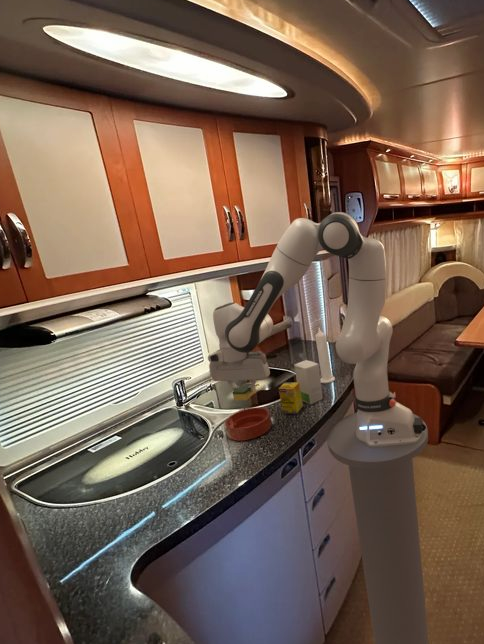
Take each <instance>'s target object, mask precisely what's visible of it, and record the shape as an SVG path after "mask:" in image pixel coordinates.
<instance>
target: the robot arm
mask: <svg viewBox="0 0 484 644" xmlns="http://www.w3.org/2000/svg"><path fill="white" fill-rule="evenodd" d="M322 250H324V251H326V252H327V253H329V254H331V255H333V256H337V257H340V258H343V259H346V260H347V262H348V295H347V296H348V300H347V307H346V311H345V315H344V319H343V323H342V328H341V331H340V333H339V335H338V337H337V339H336V341H335V351H336V354H337V356H338V357H339V359H340V360H341V361H343V362H344V363H345V364H349V365H355V366H354V369H353V373H352V378H353V386H354V393H355V395H354V404H355V405H354V407H355V411H356V412H357V430H356V436H357V438H358V439H359V440H361V441H363V442H365V443H366V444H367V445H368V446H369V447H383V446H394V445H405V444H415V443H417V442H418V441H419V440H420V439H421V437H422V433H423V431H424V430H425V429H426V426H427V425H426V426H425V425H424V424H423V421H424V420H423V417H420V418H414V415H413V414H414V413H413V411H412V410H411V408H409V407H407V406H405V405H403V404H401V403H400V402H398V401H397V397H396V391H394V392H392V391H390V387H389V378H388V362H389V355H390V354H389V353H390V343H391V339H392V336H393V334H394V333H393V330H394V329H393V325H392V322H391V321H390V320H389V319H388V318H387V317H386V316H383V315H382V311H383V309H384V306H385V303H386V290H387V289H386V287H387V257H386V251H385V247H384V244H383V243H382V242H381V241H380V240H378V239H376V238H373V237H365V236H364V235H362V234H361V232H360V225H359V224H358V222H357V219H355V218H354V217H353V215H351V214H350V213H349V214H348V213H347V212H341V211H337V212H332V213H331V214H328V215H327V216H326V217H324V218H323V219H322V220H321V221H320V222H319V223H317V222H314V221H313V220H311V219H309V218H305V217H298V218H295V219H294V220H293V221H292V222H291V224H289V226H288V227H287V228H286V230H285V231H284V233H283V234H282V236H281V237H280V239H279V240H278V243H277V245H276V246H275V248H274V250H273V253H272V255H271V257H270V259H269V261H268V263H267V266H266V268H265V270H264V272H263V274H262V276H261V278H260V280H259V282H258V284H257V286H256V287H255V289H254V290H253V293H252V294H251V295H250V296H249V297H250V298H249V299H248V301H247V303H246V304H245V306H243V305H240V304H239V303H237V302H234V301H233V302H228V303H225V304H223V305H220V306H217V307H216V308H215V309H214V310H213V314H212V320H213V326H214V331H215V335H216V336H217V339H218V341H219V342H218V347H219V349H217V350H216V351H214V352H212V353H210V354H209V355H208V356H207V360H208V362H209V364H208V368H209V374H210V377H211V380H213V382H227V384H228V385H229V386H230V387H231V389H232V392H233V391H235V390H236V389H237V388H238V387H240V385H237V384H236V381H249V383H251V386H250V387H248V389H249V392H254V391H255V387H256V382H257V381H262V380H263V381H265V380H267V379H268V378H269V377H270V375H271V371H270V367H269V364H268V361H267V356H266V355H265V353H264V352H262V351H253V350H254V349H255V348H256V347H257V346H258V345H259V344H260V343H262V342H263V341H265V339H266V338H268V337H269V336H270V335H271V334H272V332H273V330H274V321H273V319H272V317H271V316H270V314H269V312H270V310H271V309H272V307H273V306H274V304H275V303H276V301H277V300H278V299H279V298H280V297H281V296H282V295H283V294H284V293H287V291H289V290H290V289H292V288H293V287H294V286H296V285H297V284H298V283H299V282H300V281H301V280H302V279H303V277H304V276H305V275H306V273H307V272H308V271H309V269H310V267H311V266H312V263H313V261H314V260H315V258H316V256H317V255H318V254H319V253H320V252H321V251H322Z"/></svg>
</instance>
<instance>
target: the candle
mask: <svg viewBox="0 0 484 644" xmlns="http://www.w3.org/2000/svg"><path fill="white" fill-rule="evenodd" d="M317 329H318V331H317V332H316V334H315V336H314V337H315V342H316V349H317V356H318V364H319V370H320V376H321V377H320V381H321V384H330V383H333V382H334V381H335V380H336V377H335V376H334V375H332V370H331V368H332V367H331V363H330V355H329V349H328V343H327V342H328V341H327V336H326V333H325V332H323V331H322V329H321V327H318V328H317Z"/></svg>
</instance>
